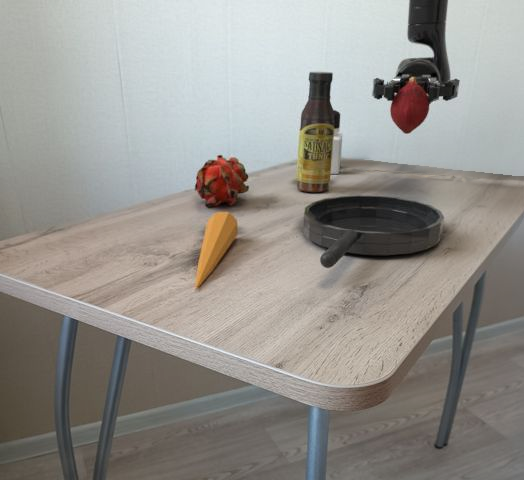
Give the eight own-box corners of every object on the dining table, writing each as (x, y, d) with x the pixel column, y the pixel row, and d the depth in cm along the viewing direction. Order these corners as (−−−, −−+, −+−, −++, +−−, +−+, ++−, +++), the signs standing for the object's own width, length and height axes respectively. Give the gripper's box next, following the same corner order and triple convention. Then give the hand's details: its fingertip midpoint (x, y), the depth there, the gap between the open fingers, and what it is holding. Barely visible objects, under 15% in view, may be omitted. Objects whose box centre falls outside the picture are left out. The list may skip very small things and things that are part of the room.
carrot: (217, 241, 80) (204, 213, 78) (245, 231, 79) (232, 202, 76) (186, 312, 64) (168, 280, 62) (221, 301, 62) (203, 267, 60)
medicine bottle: (340, 167, 121) (344, 108, 115) (338, 174, 115) (342, 112, 109) (308, 166, 122) (310, 108, 116) (304, 173, 116) (306, 112, 110)
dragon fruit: (245, 204, 101) (210, 231, 92) (209, 173, 101) (171, 198, 92) (266, 169, 95) (231, 195, 86) (229, 136, 94) (190, 159, 86)
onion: (431, 136, 84) (438, 78, 80) (394, 137, 84) (399, 79, 80) (419, 130, 89) (425, 75, 85) (384, 131, 89) (389, 76, 85)
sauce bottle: (300, 194, 100) (303, 73, 91) (293, 186, 106) (295, 71, 96) (334, 193, 101) (342, 72, 92) (326, 185, 107) (332, 70, 97)
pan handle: (345, 240, 71) (346, 227, 70) (359, 242, 70) (360, 228, 69) (317, 268, 62) (318, 253, 62) (332, 271, 62) (333, 255, 61)
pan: (449, 225, 83) (452, 202, 82) (426, 268, 68) (430, 240, 66) (328, 212, 90) (329, 190, 89) (283, 247, 75) (283, 222, 73)
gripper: (377, 59, 95) (364, 64, 81) (464, 59, 92) (466, 65, 78) (373, 106, 99) (360, 119, 85) (457, 108, 95) (457, 122, 81)
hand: (410, 93), depth 81 cm, fingers closed on onion, 5 cm apart
